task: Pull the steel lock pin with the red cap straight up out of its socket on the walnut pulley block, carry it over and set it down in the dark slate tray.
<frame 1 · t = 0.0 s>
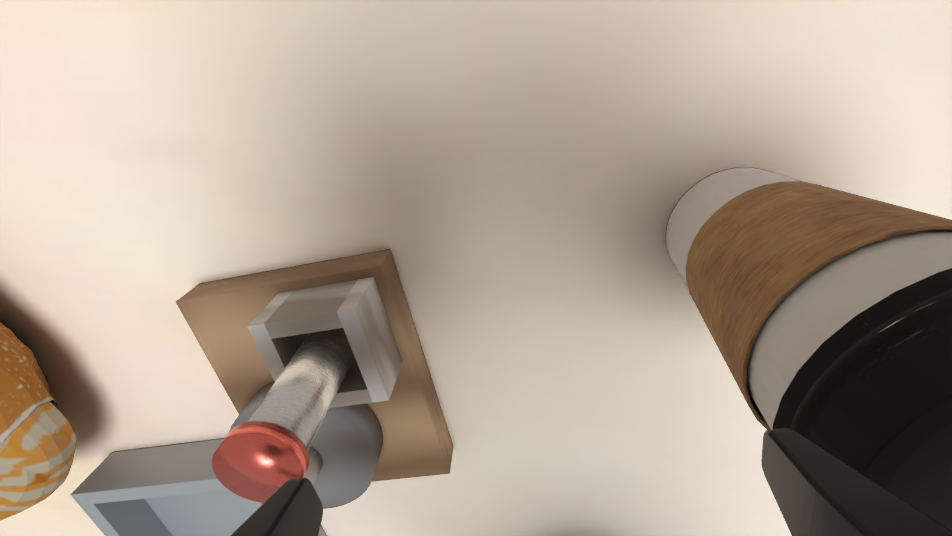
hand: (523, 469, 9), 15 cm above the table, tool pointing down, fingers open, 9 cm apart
coffee cup: (727, 226, 22), on the table
lock pin: (342, 328, 23), point 2 cm above the table, touching pulley block
tray: (228, 503, 33), on the table
pulley block: (336, 371, 27), on the table
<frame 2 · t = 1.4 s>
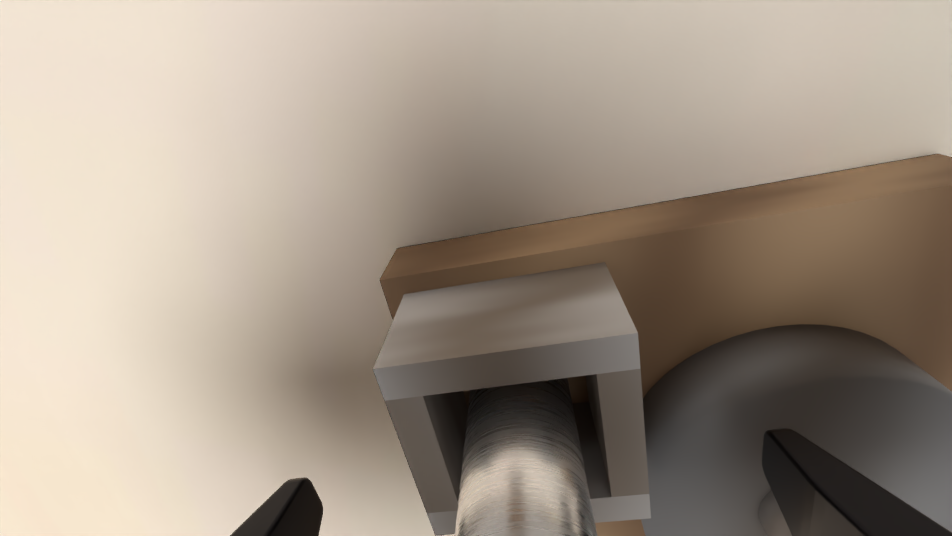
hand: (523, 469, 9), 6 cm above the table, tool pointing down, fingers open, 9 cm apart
lock pin: (518, 360, 12), point 2 cm above the table, touching pulley block
pulley block: (654, 368, 14), on the table
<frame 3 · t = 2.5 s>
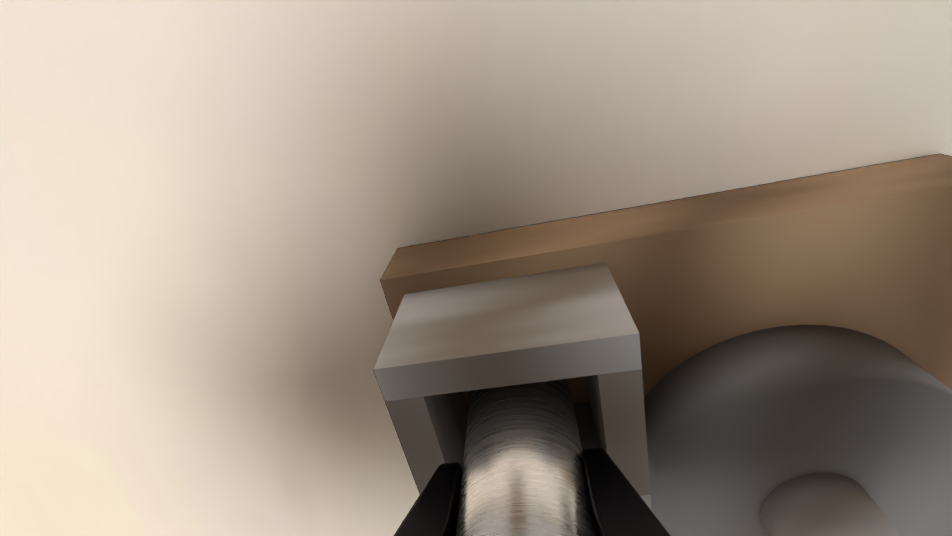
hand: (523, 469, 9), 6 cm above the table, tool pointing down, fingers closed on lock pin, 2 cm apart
lock pin: (518, 360, 12), point 2 cm above the table, touching gripper, pulley block
pulley block: (655, 368, 14), on the table
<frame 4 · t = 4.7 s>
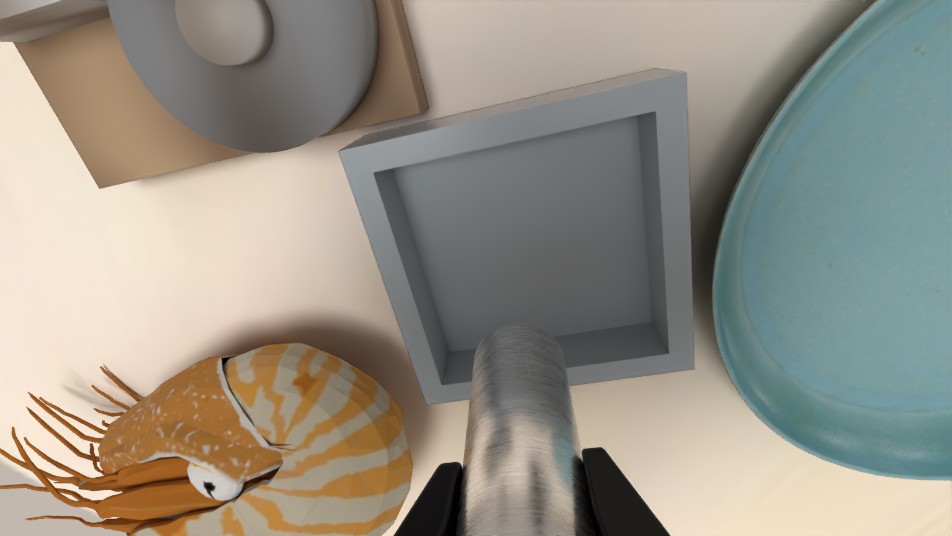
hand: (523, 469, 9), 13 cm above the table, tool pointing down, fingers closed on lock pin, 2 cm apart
lock pin: (518, 362, 12), point 10 cm above the table, touching gripper
tray: (528, 238, 21), on the table
pulley block: (216, 0, 17), on the table
nautilus: (243, 396, 27), on the table
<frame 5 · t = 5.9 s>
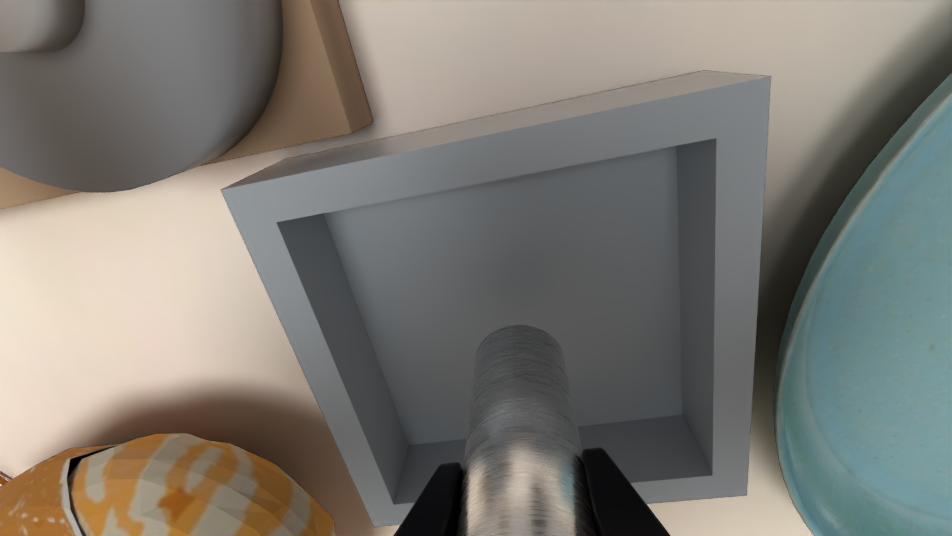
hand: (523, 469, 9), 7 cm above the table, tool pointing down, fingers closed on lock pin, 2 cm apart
lock pin: (519, 362, 12), point 3 cm above the table, touching gripper
tray: (516, 301, 15), on the table
nautilus: (143, 479, 21), on the table
when the fingers open (5 cm above the table, at t = 6.8 s): lock pin drops 1 cm, resting on tray.
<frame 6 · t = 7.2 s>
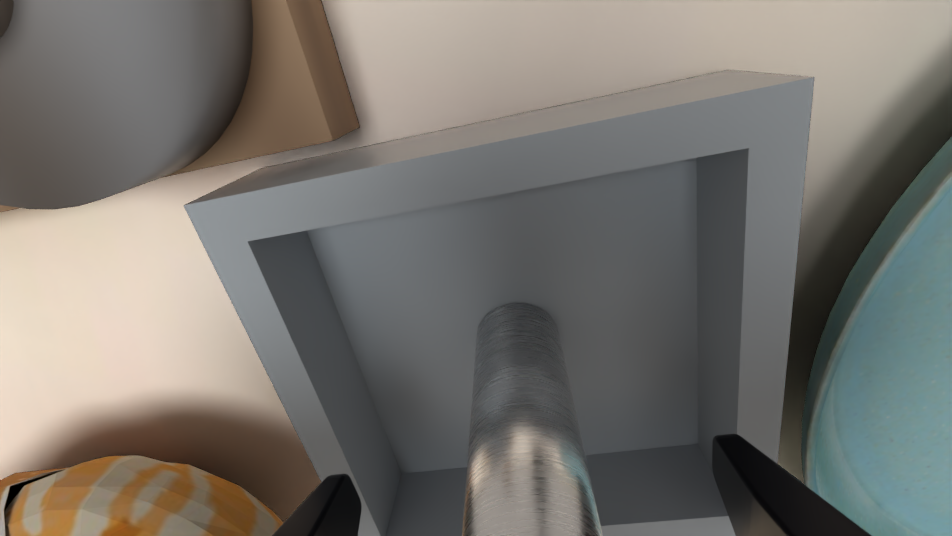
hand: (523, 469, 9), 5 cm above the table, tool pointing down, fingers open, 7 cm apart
lock pin: (517, 338, 13), point 1 cm above the table, touching tray
tray: (517, 321, 14), on the table
nautilus: (110, 500, 19), on the table
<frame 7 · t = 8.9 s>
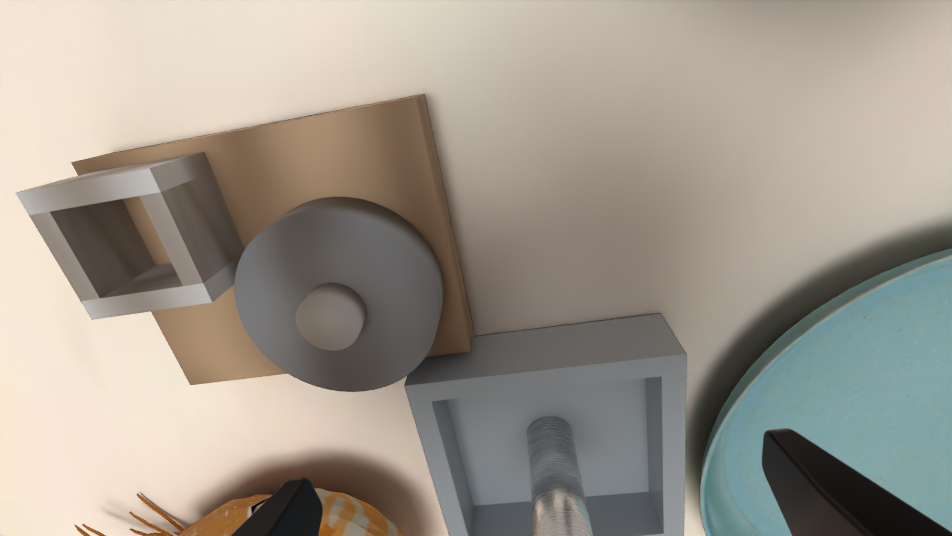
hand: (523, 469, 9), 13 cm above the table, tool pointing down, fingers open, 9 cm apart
lock pin: (549, 433, 24), point 1 cm above the table, touching tray
tray: (548, 422, 25), on the table
pulley block: (304, 246, 21), on the table
nautilus: (265, 514, 29), on the table
teal round plate: (910, 422, 24), on the table
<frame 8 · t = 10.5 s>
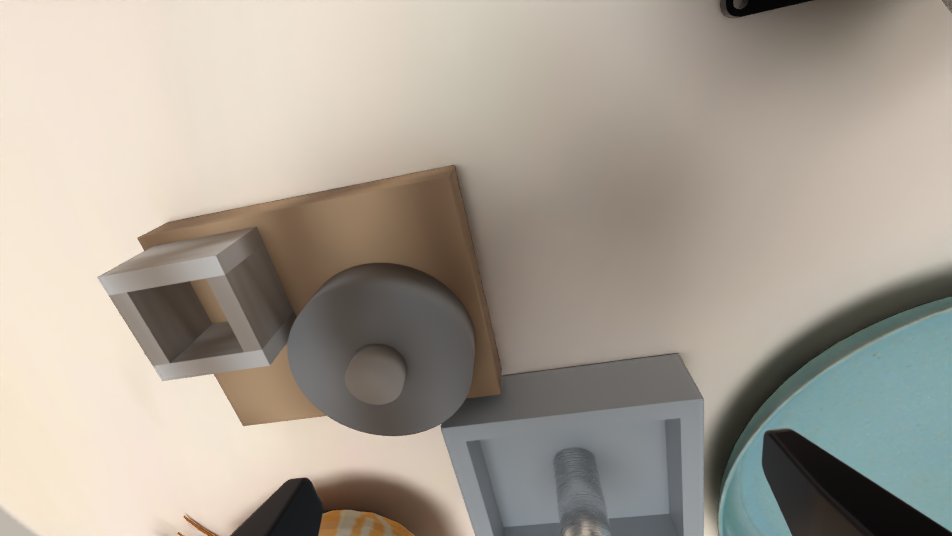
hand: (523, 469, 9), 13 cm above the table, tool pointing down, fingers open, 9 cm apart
lock pin: (574, 462, 26), point 1 cm above the table, touching tray
tray: (572, 451, 26), on the table
pulley block: (343, 299, 23), on the table
nautilus: (301, 530, 31), on the table
teal round plate: (921, 447, 25), on the table
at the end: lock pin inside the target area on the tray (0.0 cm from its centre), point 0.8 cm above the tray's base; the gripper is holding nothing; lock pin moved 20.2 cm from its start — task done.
